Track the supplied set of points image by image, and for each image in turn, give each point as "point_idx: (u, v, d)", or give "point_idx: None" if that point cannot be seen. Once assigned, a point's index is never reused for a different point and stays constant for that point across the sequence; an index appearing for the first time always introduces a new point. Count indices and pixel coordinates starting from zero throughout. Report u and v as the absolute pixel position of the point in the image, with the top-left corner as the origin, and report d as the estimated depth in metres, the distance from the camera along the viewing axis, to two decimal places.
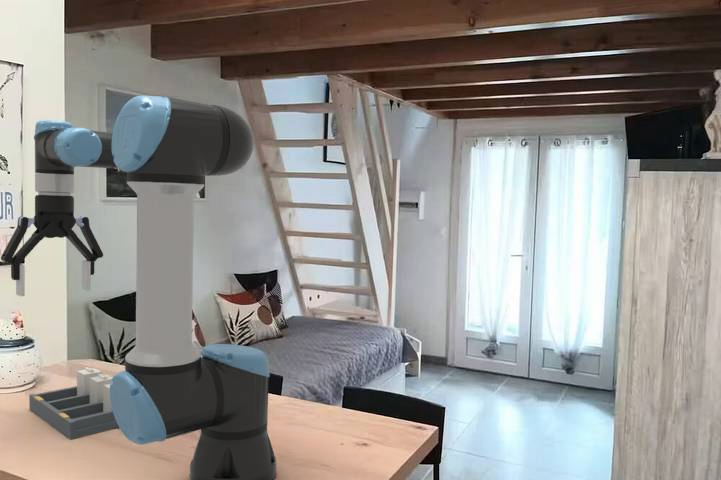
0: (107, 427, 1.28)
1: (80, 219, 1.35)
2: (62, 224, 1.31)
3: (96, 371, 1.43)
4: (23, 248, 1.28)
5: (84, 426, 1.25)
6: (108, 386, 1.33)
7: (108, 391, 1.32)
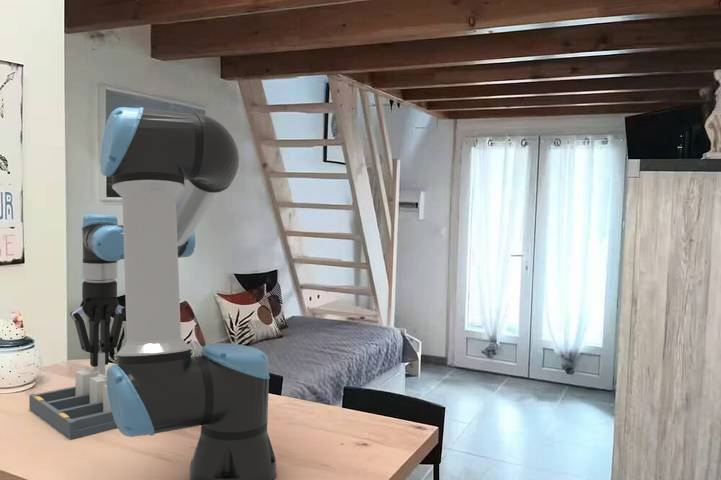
0: (107, 427, 1.28)
1: (121, 307, 1.47)
2: (107, 306, 1.43)
3: (95, 371, 1.43)
4: (91, 338, 1.43)
5: (84, 426, 1.25)
6: None
7: None
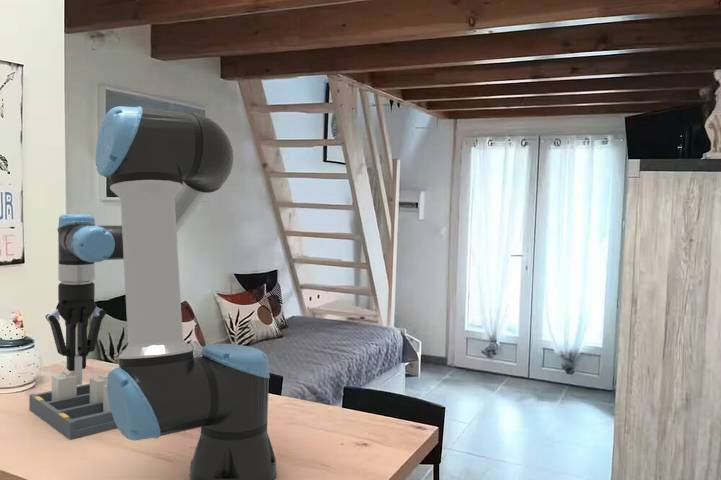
0: (107, 427, 1.28)
1: (99, 309, 1.44)
2: (84, 309, 1.40)
3: (71, 376, 1.39)
4: (68, 341, 1.39)
5: (84, 426, 1.25)
6: None
7: None
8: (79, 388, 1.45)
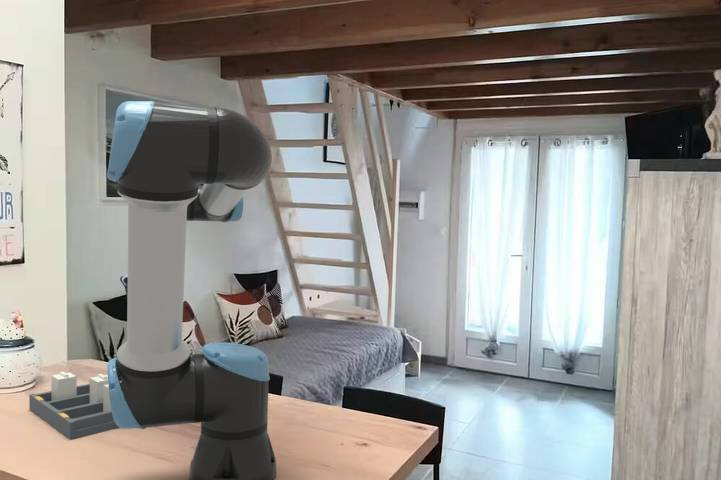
0: (107, 427, 1.28)
1: None
2: None
3: (71, 376, 1.39)
4: None
5: (84, 426, 1.25)
6: (108, 386, 1.33)
7: (108, 391, 1.32)
8: (79, 388, 1.45)
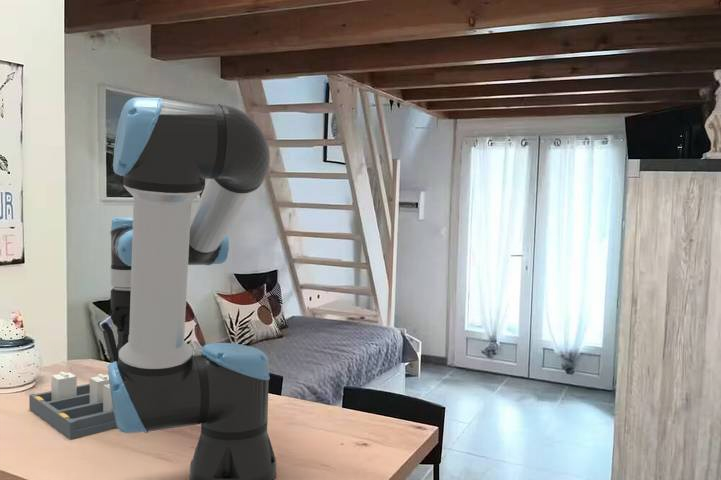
0: (107, 427, 1.28)
1: None
2: None
3: (71, 376, 1.39)
4: None
5: (84, 426, 1.25)
6: (108, 386, 1.33)
7: (108, 391, 1.32)
8: (79, 388, 1.45)
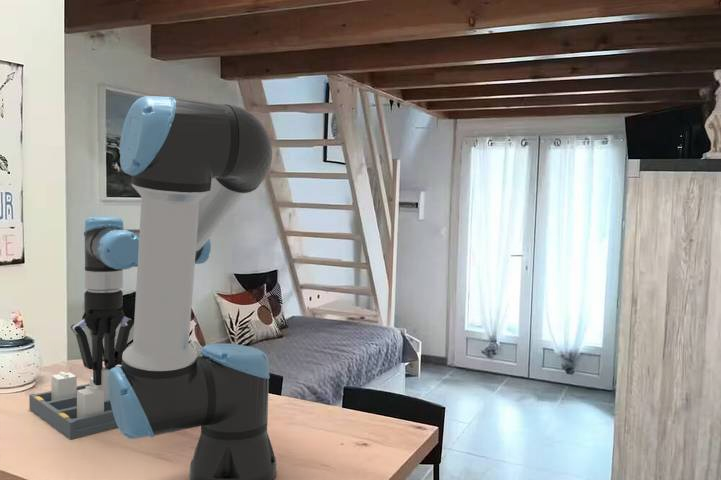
0: (107, 427, 1.28)
1: (127, 319, 1.34)
2: (112, 319, 1.30)
3: (71, 376, 1.39)
4: (94, 353, 1.30)
5: (84, 426, 1.25)
6: (82, 391, 1.29)
7: (81, 397, 1.28)
8: (79, 388, 1.45)
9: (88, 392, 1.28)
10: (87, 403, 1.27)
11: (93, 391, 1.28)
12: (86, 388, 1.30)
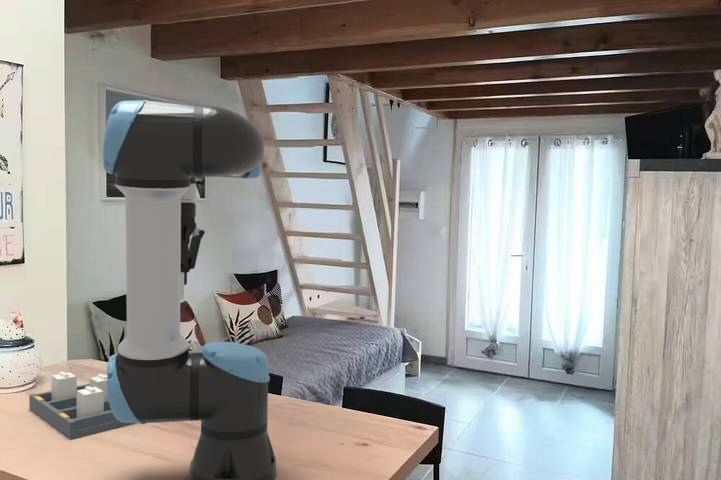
0: (107, 427, 1.28)
1: (198, 229, 1.51)
2: (187, 227, 1.47)
3: (71, 376, 1.39)
4: None
5: (84, 426, 1.25)
6: (81, 391, 1.29)
7: (81, 397, 1.28)
8: (79, 388, 1.45)
9: (88, 392, 1.28)
10: (86, 403, 1.27)
11: (93, 391, 1.28)
12: (86, 388, 1.30)
